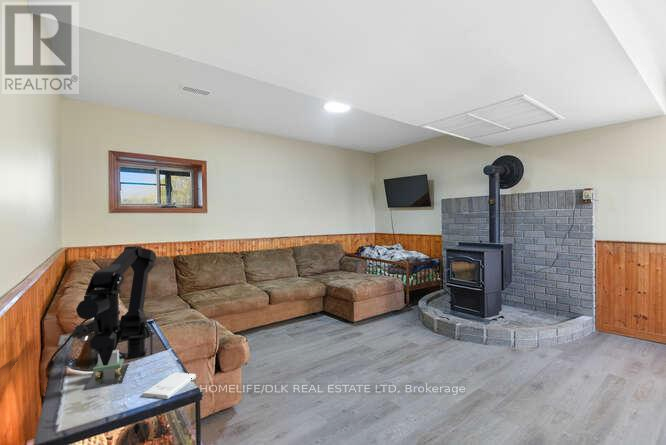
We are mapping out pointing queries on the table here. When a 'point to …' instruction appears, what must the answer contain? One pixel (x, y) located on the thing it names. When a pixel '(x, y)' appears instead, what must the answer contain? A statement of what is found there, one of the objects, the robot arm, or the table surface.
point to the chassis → (107, 377)
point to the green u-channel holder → (112, 364)
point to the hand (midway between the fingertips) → (108, 359)
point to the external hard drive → (169, 385)
